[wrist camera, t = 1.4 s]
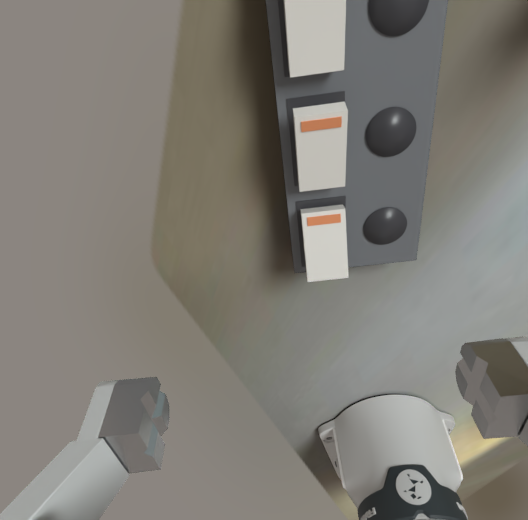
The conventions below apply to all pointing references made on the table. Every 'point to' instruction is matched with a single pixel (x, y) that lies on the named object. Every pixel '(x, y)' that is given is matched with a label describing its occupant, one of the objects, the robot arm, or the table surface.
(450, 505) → the robot arm
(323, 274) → the rocker
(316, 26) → the rocker
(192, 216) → the table surface
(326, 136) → the rocker middle
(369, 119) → the grey rocker switch panel
